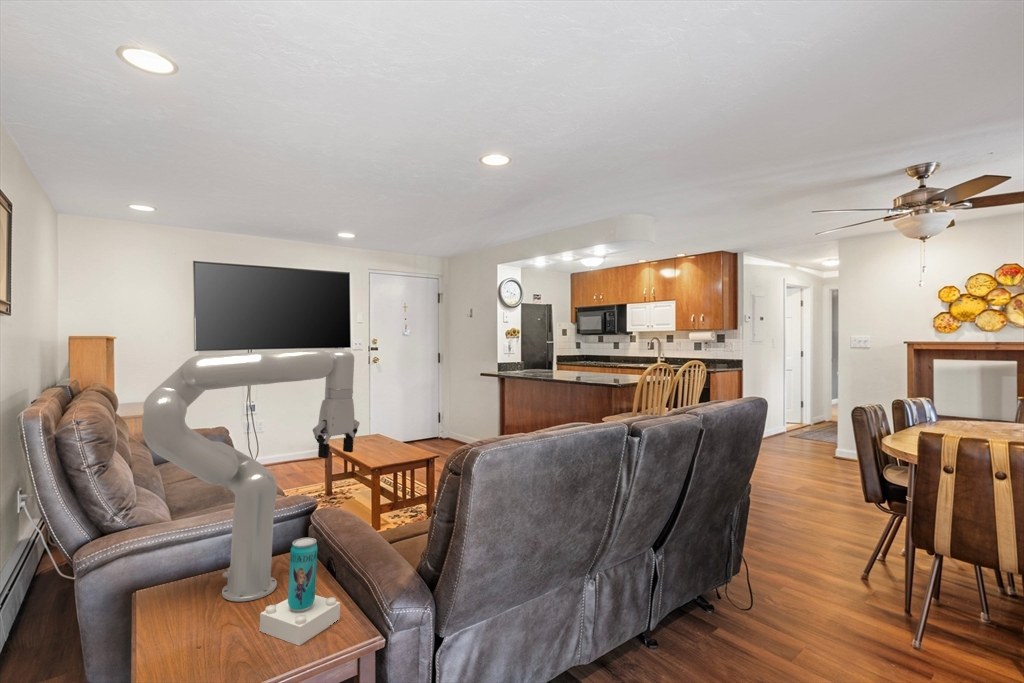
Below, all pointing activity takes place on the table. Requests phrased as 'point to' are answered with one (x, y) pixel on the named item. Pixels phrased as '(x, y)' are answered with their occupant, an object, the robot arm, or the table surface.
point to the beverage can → (302, 574)
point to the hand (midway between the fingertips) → (335, 454)
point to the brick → (299, 620)
